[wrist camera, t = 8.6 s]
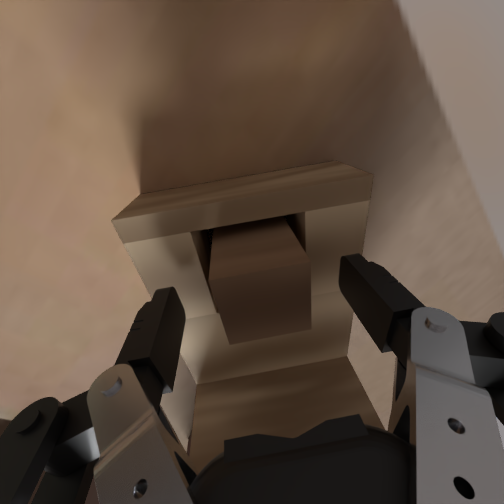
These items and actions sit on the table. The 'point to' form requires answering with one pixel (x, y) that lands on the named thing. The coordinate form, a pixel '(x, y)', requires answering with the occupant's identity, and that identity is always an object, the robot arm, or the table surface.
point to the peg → (260, 280)
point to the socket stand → (268, 349)
